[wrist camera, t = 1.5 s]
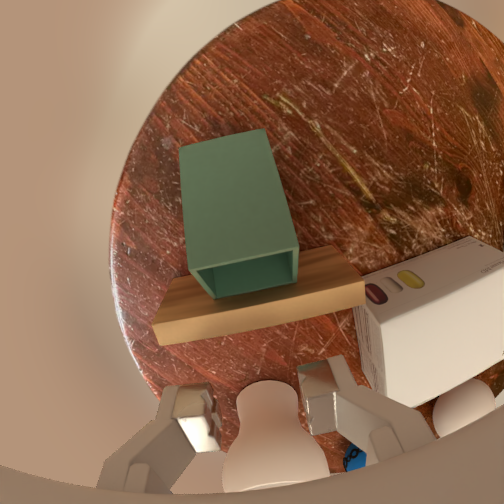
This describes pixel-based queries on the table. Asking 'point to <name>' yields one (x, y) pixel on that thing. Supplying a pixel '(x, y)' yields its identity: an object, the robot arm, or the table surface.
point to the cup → (271, 442)
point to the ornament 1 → (354, 458)
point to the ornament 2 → (462, 406)
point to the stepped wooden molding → (259, 301)
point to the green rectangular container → (236, 216)
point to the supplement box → (432, 321)
